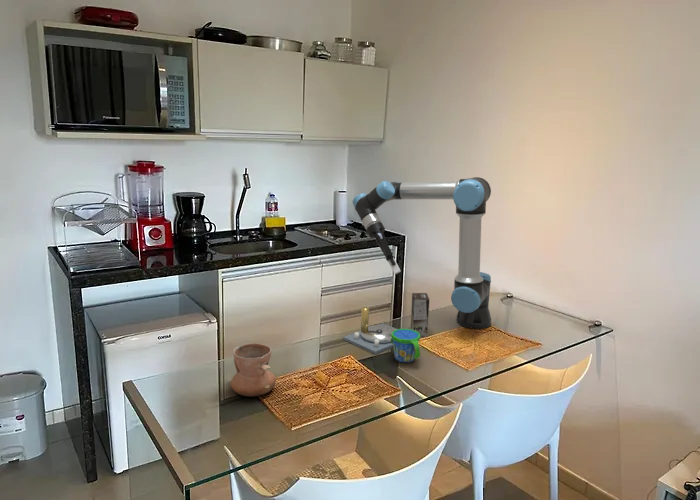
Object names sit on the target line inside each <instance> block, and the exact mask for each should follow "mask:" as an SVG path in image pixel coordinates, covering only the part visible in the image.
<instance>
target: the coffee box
mask: <svg viewBox="0 0 700 500" xmlns="http://www.w3.org/2000/svg"><path fill="white" fill-rule="evenodd" d="M410 311H411V313H410V329H411V330H415V331H417V332H418V333H419V334H420V336H421V337H428V326H429V312H430V298H429V296H428V293H427V292H418V293H417V292H412V293H411V309H410Z"/></svg>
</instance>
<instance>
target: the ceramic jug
mask: <svg viewBox="0 0 700 500" xmlns="http://www.w3.org/2000/svg"><path fill="white" fill-rule="evenodd" d="M232 352H233V357H234V358H233V363H234V366H235V370H236V373H235V374H234V375H233V376H232V377H231V380H230V386H231V389H232V391H234V392H235V393H236V394H237V395H240V396H243V397H251V398H252V397H259V396H263V395H265V394H267V393H269V392H270V391H271V390H273V389H274V387H275V386H276V383H277V381H276V376H275V374H274V373H273V372H271V371H270V369H271V366H270V365H269V363H270V360H271V357H272V347H271V346H269V345H267V344H262V343H256V342H251V343H242V344H240V345H238V346H236V347H235V348H234V349H233V351H232Z"/></svg>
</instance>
